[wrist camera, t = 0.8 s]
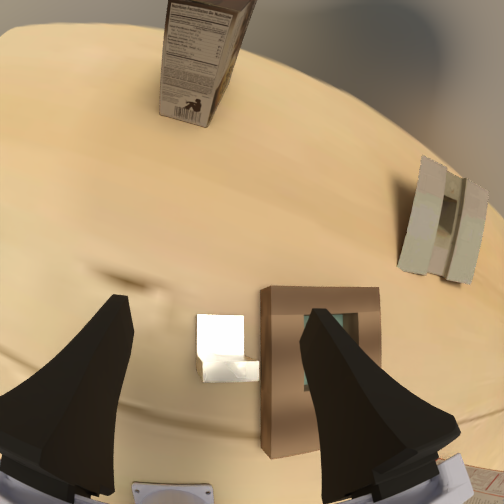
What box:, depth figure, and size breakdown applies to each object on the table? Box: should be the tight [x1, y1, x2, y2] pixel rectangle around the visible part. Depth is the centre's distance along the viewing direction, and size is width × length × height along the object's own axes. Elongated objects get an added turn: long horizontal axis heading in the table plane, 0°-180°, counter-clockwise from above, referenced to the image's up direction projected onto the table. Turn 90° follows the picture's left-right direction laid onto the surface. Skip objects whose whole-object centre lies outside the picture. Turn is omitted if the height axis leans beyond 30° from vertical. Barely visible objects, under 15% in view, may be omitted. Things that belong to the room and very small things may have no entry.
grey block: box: [196, 315, 259, 383], centre depth 22 cm, size 5×4×6 cm
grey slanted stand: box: [397, 155, 488, 284], centre depth 34 cm, size 16×9×15 cm
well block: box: [261, 286, 381, 459], centre depth 25 cm, size 16×12×3 cm
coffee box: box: [160, 0, 257, 127], centre depth 23 cm, size 9×6×16 cm
